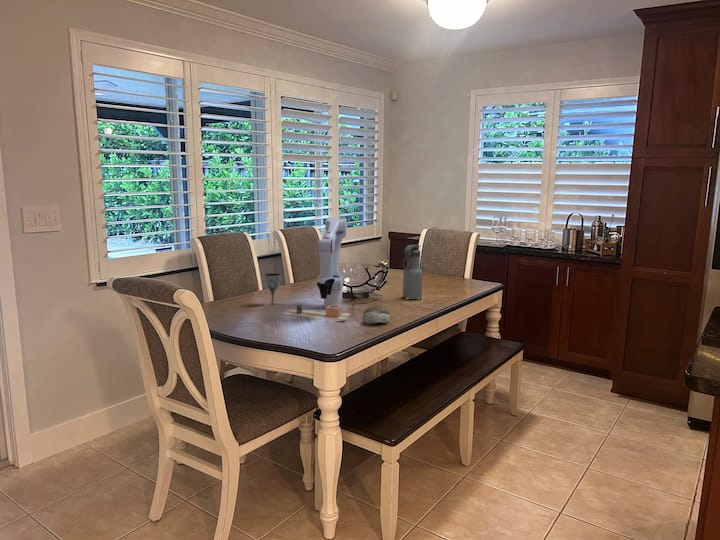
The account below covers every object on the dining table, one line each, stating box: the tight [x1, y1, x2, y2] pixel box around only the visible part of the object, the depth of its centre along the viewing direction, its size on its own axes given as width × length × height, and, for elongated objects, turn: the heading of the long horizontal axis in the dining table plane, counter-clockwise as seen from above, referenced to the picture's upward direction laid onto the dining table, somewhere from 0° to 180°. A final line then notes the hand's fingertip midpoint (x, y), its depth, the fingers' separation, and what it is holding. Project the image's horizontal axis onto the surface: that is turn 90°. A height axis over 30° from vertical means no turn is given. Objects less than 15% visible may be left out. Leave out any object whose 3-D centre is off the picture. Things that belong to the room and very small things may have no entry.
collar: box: [325, 305, 343, 318], centre depth 238 cm, size 6×6×4 cm
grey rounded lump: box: [362, 305, 391, 325], centre depth 233 cm, size 14×9×10 cm
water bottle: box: [402, 244, 423, 299], centre depth 280 cm, size 10×10×28 cm
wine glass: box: [263, 272, 282, 307], centre depth 261 cm, size 8×8×15 cm
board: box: [282, 304, 351, 324], centre depth 240 cm, size 12×28×5 cm, turn 79°
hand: (325, 296), depth 239 cm, fingers open, 7 cm apart
